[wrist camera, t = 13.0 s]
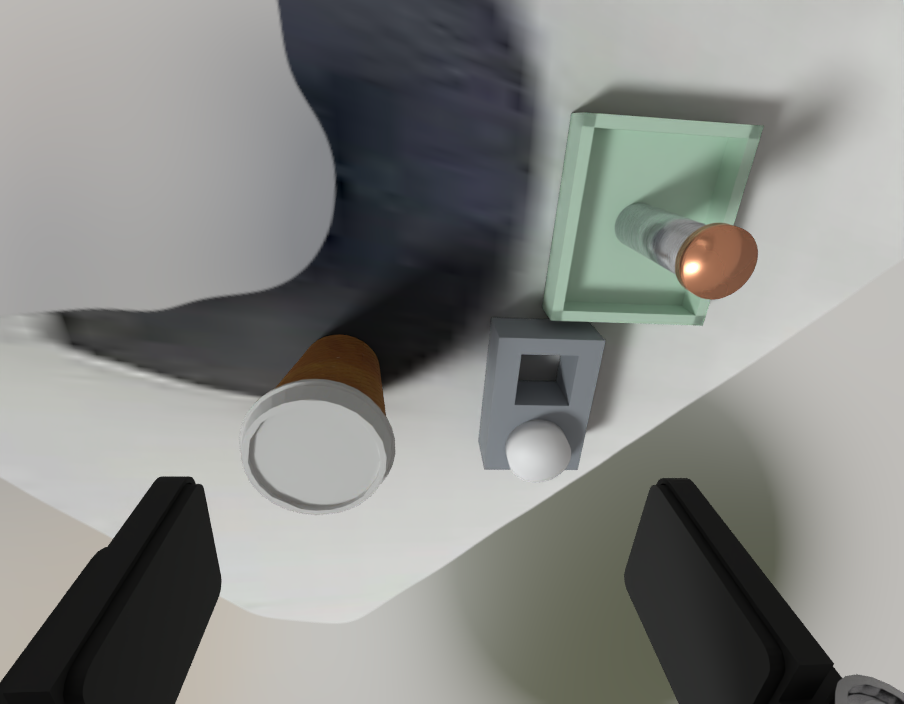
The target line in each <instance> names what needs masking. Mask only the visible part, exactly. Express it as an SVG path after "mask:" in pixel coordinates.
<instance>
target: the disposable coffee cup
mask: <svg viewBox="0 0 904 704" xmlns="http://www.w3.org/2000/svg"><path fill="white" fill-rule="evenodd" d="M239 444H240V452H241V460H242V465H243V469H244V472H245V474H246V476H247V478H248V480H249V481H250V483H251V484H252V485H253V487H254V488H255V489H256V490H257V491H258V492H259V493H260V494H261V495H262V496H263V497H265V498H266V499H268V500H269V501H271V502H272V503H274V504H276V505H278V506H280V507H282V508H284V509H287V510H290V511H293V512H297V513H302V514H310V515H323V514H333V513H340V512H343V511H346V510H349V509H351V508H353V507H356V506H358V505H360V504H361V503H362V502H364V501H365V500H366V499H368V498H369V497H370V496H371V495H372V494H373V493H374V492H375V491H376V490H377V489H378V487H379V485H380V484H381V483H382V482H383V481H384V479H385V478H386V477H387V475H388V474H389V471H390V469H391V467H392V465H393V461H394V457H395V438H394V434H393V431H392V427H391V425H390V423H389V421H388V419H387V417H386V412H385V404H384V397H383V389H382V382H381V375H380V366H379V361H378V359H377V356H376V354H375V353H374V351H373V350H372V349H371V348H370V347H369V346H368V345H367V344H366V343H364V342H363V341H361V340H359V339H357V338H355V337H352V336H348V335H330V336H326V337H323V338H321V339H319V340H317V341H316V342H315V343H313V344H312V345H311V346H310V347H309V349H308V350H307V351H306V352H305V353H304V355H303V356H302V357H301V358H300V360H299V361H298V362H297V363H296V364H295V365H294V366H293V368H292V369H291V370H290V371H289V373H288V374H287V375H286V376H285V377H284V378H283V380H282V381H281V382H280V383H279V384H278V385H277V387H276V388H275V389H273V390H271V391H269V392H268V393H267V394H265V395H264V396H263V397H261V398H260V399H258V400H257V401H256V403H255V404H254V405H253V406H252V407H251V409H250V410H249V411H248V412H247V414H246V416H245V418H244V420H243V422H242V425H241V430H240V434H239Z"/></svg>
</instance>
